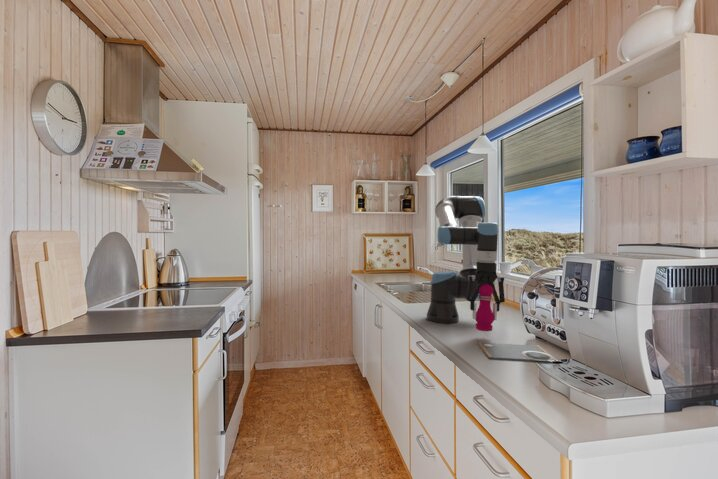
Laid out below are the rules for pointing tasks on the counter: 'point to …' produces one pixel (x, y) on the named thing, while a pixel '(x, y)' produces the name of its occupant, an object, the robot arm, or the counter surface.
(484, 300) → the pepper mill
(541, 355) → the slate
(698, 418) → the counter surface
